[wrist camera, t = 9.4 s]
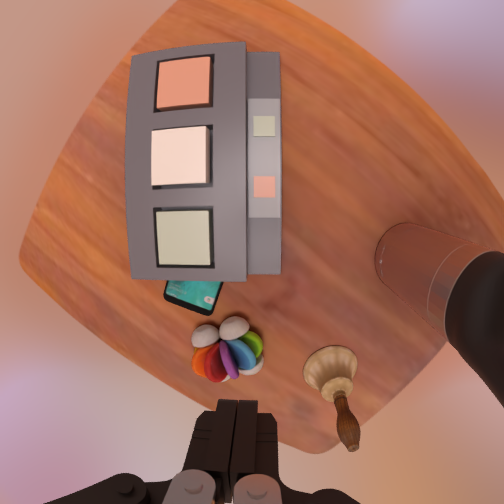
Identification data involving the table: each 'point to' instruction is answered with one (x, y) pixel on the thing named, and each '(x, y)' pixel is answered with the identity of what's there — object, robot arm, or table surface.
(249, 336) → the rainbow petal flower toy
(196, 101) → the key terracotta
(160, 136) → the key cream
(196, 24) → the table surface
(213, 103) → the keypad
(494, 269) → the robot arm
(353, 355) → the hand bell
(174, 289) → the smartphone
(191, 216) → the key sage
